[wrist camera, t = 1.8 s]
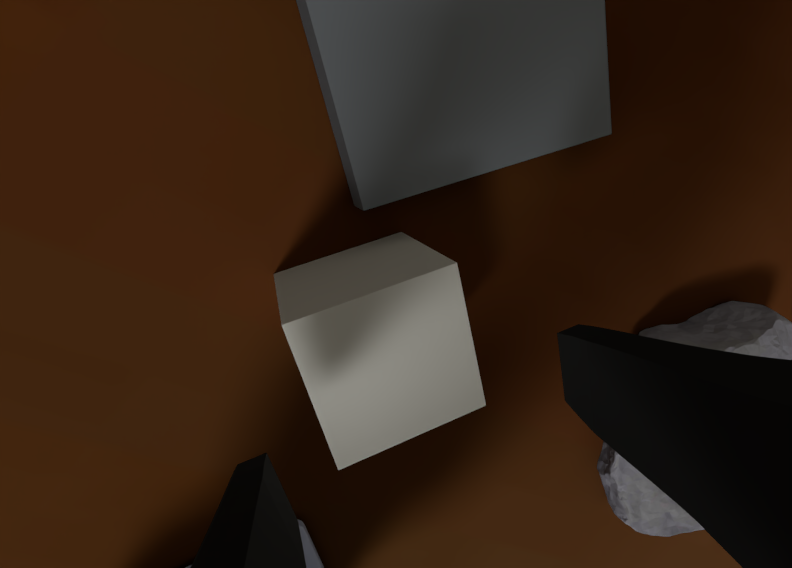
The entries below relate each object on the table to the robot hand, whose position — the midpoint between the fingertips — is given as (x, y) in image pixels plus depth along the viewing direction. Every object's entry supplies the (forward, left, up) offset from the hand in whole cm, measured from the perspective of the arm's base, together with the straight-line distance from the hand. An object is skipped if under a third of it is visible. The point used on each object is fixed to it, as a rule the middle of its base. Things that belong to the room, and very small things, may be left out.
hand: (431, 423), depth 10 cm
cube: (0, 0, -8) cm, 8 cm away
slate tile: (+6, +9, -8) cm, 13 cm away
